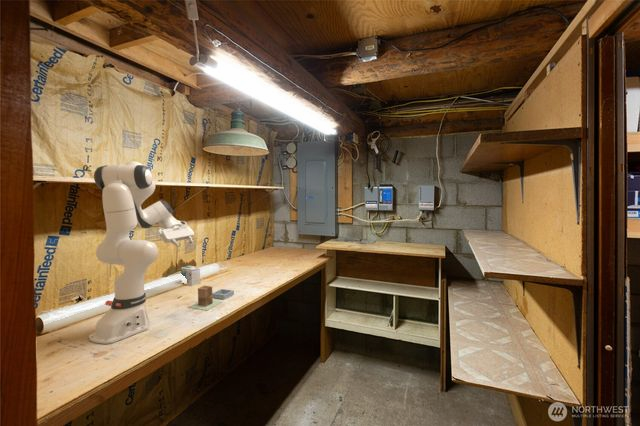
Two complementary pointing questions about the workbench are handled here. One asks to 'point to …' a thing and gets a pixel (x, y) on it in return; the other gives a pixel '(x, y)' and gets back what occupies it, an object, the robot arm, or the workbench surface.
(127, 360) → the workbench surface
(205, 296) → the walnut block
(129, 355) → the workbench surface
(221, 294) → the gray square frame
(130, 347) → the workbench surface
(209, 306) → the rubber mat
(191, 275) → the light bulb box
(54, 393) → the workbench surface
